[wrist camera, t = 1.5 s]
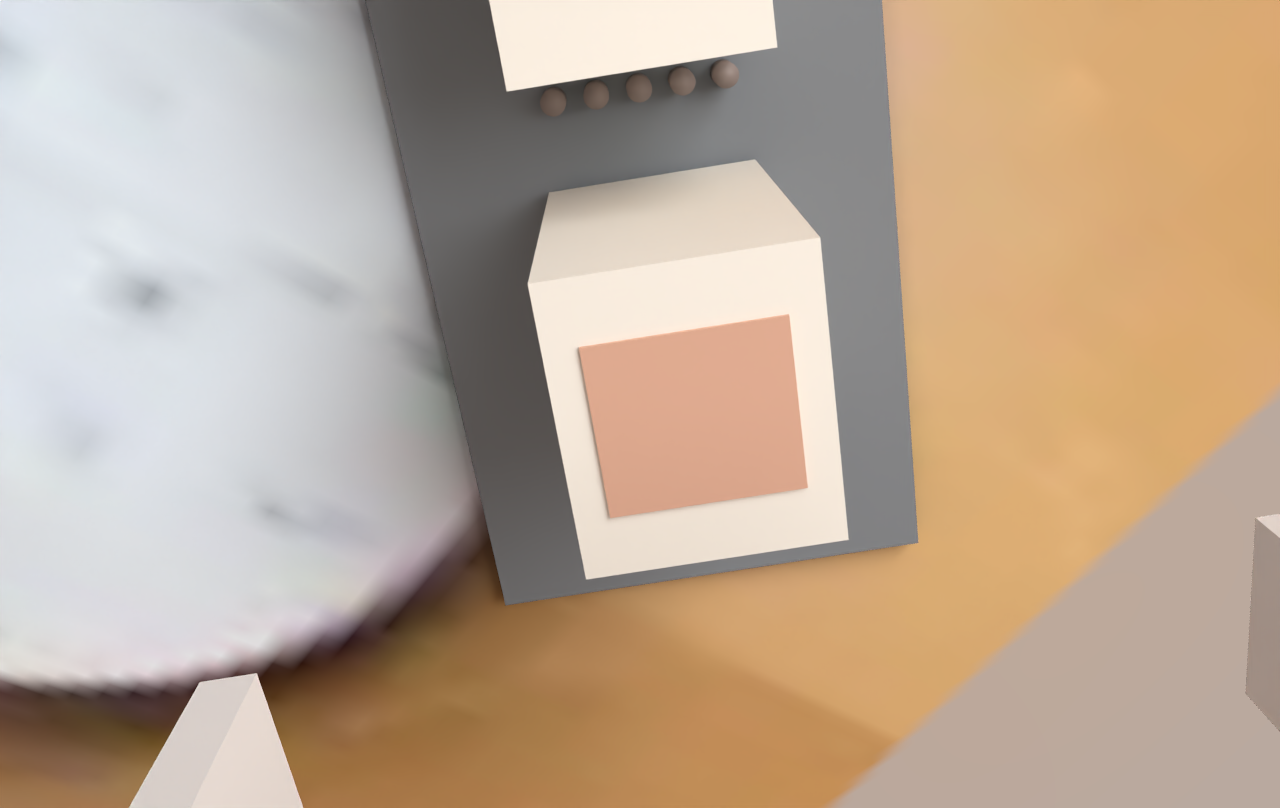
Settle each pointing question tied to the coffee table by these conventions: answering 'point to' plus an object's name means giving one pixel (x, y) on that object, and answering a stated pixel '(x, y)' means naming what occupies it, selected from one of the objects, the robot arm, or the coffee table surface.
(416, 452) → the coffee table surface
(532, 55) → the cream long box
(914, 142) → the coffee table surface
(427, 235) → the mat
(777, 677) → the coffee table surface
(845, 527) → the box with pink panel
